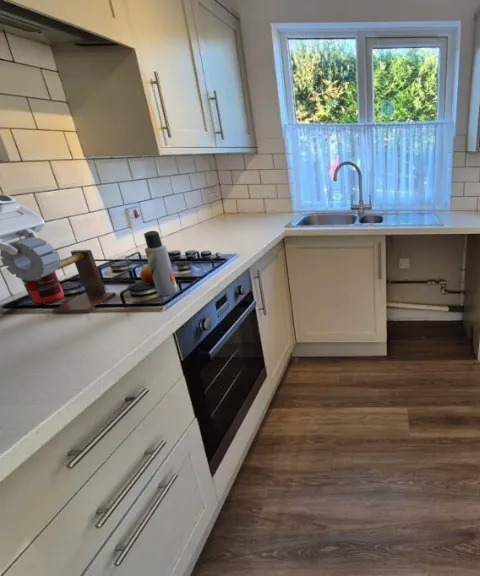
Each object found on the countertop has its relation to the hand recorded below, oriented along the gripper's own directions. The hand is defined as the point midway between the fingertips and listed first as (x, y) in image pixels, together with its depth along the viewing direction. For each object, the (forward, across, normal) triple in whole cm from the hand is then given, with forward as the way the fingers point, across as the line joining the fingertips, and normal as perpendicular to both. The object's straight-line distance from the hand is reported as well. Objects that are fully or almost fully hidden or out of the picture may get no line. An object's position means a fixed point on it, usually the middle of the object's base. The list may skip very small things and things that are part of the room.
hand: (29, 248), depth 91 cm
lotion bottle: (+29, +18, +1) cm, 34 cm away
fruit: (+22, +28, +8) cm, 37 cm away
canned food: (+4, +15, +26) cm, 30 cm away
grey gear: (+5, 0, +6) cm, 8 cm away
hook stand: (+14, +11, +16) cm, 24 cm away
